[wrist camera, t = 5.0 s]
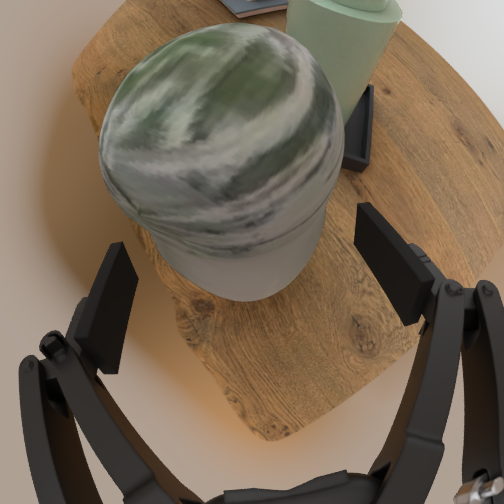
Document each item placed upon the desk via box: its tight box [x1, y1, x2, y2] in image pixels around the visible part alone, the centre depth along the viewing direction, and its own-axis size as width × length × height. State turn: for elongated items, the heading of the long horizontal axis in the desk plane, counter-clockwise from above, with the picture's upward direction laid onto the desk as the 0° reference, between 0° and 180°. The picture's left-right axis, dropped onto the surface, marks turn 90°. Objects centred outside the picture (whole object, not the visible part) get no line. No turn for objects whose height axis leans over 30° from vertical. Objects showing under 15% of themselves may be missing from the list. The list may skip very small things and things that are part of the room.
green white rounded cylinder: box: [99, 23, 345, 302], centre depth 19 cm, size 10×10×28 cm
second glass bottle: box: [284, 0, 403, 129], centre depth 21 cm, size 10×10×28 cm
